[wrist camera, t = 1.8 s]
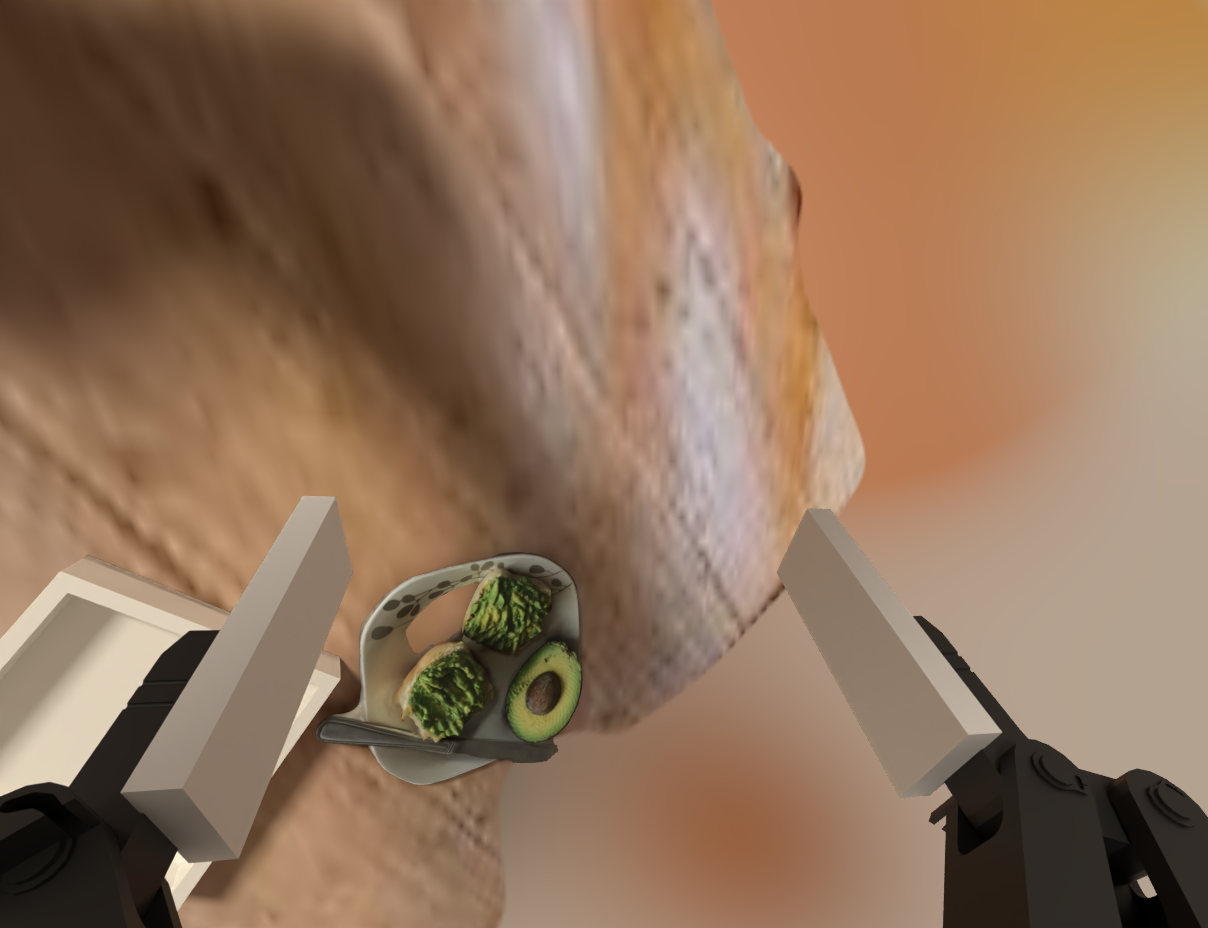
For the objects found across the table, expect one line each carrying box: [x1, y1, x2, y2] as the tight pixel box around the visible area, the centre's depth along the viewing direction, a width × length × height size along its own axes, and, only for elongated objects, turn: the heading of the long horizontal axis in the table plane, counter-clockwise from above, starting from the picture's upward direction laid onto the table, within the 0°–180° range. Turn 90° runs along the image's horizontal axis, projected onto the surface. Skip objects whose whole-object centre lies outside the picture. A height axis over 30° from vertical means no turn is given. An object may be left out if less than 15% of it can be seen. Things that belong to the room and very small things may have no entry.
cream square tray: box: [0, 555, 341, 911], centre depth 27 cm, size 15×15×3 cm
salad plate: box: [316, 552, 582, 785], centre depth 36 cm, size 19×18×5 cm
